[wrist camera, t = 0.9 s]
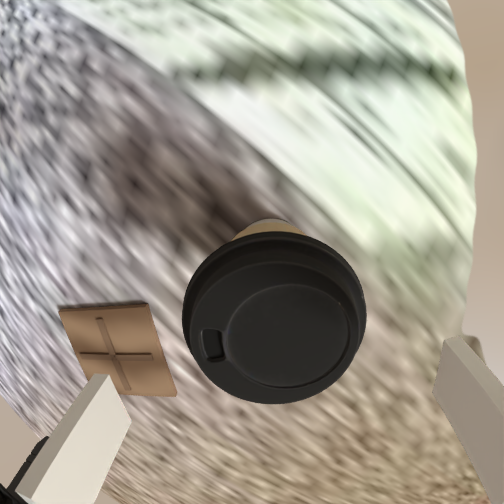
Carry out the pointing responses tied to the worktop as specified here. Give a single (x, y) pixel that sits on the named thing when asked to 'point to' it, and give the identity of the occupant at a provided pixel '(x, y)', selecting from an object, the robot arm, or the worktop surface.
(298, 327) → the coffee cup
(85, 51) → the worktop surface
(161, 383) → the plate
